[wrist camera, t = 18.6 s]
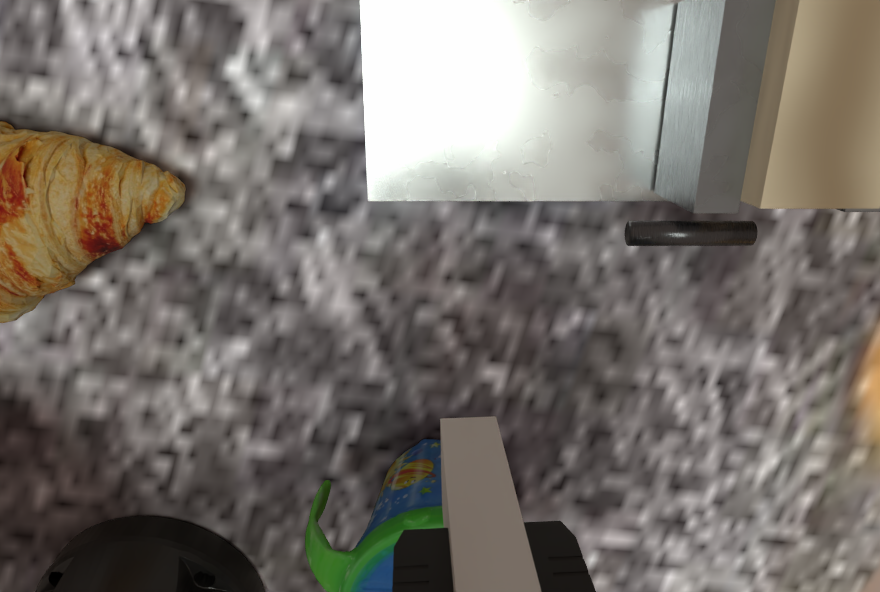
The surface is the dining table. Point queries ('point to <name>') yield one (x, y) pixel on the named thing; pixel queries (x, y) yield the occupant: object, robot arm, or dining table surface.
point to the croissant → (68, 210)
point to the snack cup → (380, 523)
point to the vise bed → (515, 98)
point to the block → (818, 109)
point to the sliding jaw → (709, 121)
